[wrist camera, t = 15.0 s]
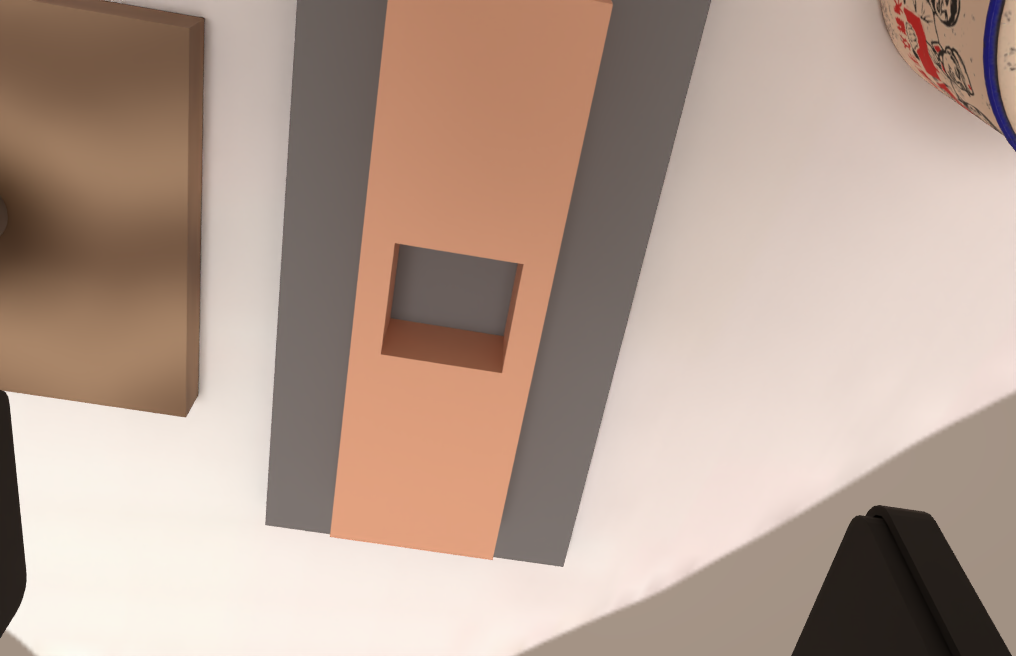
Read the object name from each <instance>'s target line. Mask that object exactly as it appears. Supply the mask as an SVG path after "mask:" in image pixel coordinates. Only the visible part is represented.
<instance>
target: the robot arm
mask: <svg viewBox="0 0 1016 656" xmlns="http://www.w3.org/2000/svg"><path fill="white" fill-rule="evenodd" d="M25 588H26V564H25V554H24V544H23V534H22V524H21V514H20V504H19V494H18V484H17V474H16V464H15V454H14V444H13V434H12V424H11V414H10V404H9V399H8V396H7V394H6V392H4V391H2V390H0V638H1V636H2V634H3V633H4V631H5V630H6V628H7V626H8V625H9V623H10V622H11V620H12V618H13V617H14V615H15V614H16V612H17V610H18V608H19V606H20V604H21V601H22V599H23V596H24V592H25ZM791 656H1012V655H1011V654H1010V652H1009V650H1008V648H1007V646H1006V645H1005V643H1004V641H1003V639H1002V638H1001V636H1000V634H999V632H998V631H997V629H996V627H995V625H994V623H993V622H992V620H991V618H990V616H989V615H988V613H987V611H986V609H985V608H984V606H983V604H982V602H981V601H980V599H979V597H978V595H977V593H976V592H975V590H974V588H973V586H972V585H971V583H970V581H969V579H968V578H967V576H966V574H965V572H964V571H963V569H962V567H961V565H960V564H959V562H958V560H957V558H956V556H955V555H954V553H953V551H952V550H951V548H950V546H949V544H948V542H947V541H946V539H945V537H944V535H943V533H942V532H941V530H940V528H939V527H938V525H937V523H936V521H935V520H934V519H933V517H932V516H931V515H930V514H928V513H926V512H922V511H916V510H908V509H902V508H895V507H888V506H881V505H878V506H874V507H872V508H871V509H870V510H869V511H868V512H867V514H866V516H861V515H859V516H856V517H855V518H853V519H852V521H851V523H850V524H849V526H848V528H847V531H846V533H845V535H844V538H843V540H842V542H841V544H840V547H839V549H838V551H837V554H836V556H835V558H834V560H833V562H832V565H831V567H830V570H829V572H828V574H827V576H826V578H825V581H824V583H823V585H822V587H821V590H820V592H819V594H818V596H817V599H816V601H815V603H814V606H813V608H812V610H811V612H810V615H809V617H808V619H807V622H806V624H805V626H804V629H803V631H802V633H801V635H800V637H799V640H798V642H797V644H796V647H795V649H794V651H793V653H792V655H791Z"/></svg>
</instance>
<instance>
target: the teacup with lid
mask: <svg viewBox="0 0 1016 656" xmlns="http://www.w3.org/2000/svg"><path fill="white" fill-rule="evenodd" d="M881 6H882V11H883V16H884V20H885V23H886V26H887V29H888V32H889V34H890V36H891V38H892V41H893V43H894V45H895V46H896V48H897V50H898V51H899V53H900V54H901V56H902V57H903V59H904V60H905V61H906V62H907V64H908V65H909V66H910V67H911V68H912V69H913V70H914V71H915V72H916V73H917V74H918V75H919V76H920V77H922V78H923V79H924V80H926V81H927V82H928V83H929V84H931V85H932V86H934V87H935V88H937V89H938V90H939V91H941V92H942V93H944V94H945V95H947V96H948V97H949V98H951V99H952V100H954V101H955V102H957V103H958V104H959V105H961V106H962V107H964V108H965V109H967V110H968V111H969V112H971V113H972V114H974V115H975V116H977V117H978V118H979V119H981V120H982V121H984V122H985V123H987V124H988V125H989V126H991V127H992V128H994V129H995V130H997V131H998V132H999V133H1001V134H1002V135H1004V136H1005V138H1006V139H1007V141H1008V142H1009V144H1010V145H1011V146H1012V147H1013V149H1014V150H1015V151H1016V0H881Z"/></svg>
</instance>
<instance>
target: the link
mask: <svg viewBox="0 0 1016 656" xmlns="http://www.w3.org/2000/svg"><path fill="white" fill-rule="evenodd" d="M612 7H613V3H612V1H611V0H388V2H387V12H386V21H385V30H384V39H383V49H382V58H381V67H380V77H379V86H378V95H377V105H376V114H375V123H374V132H373V142H372V151H371V160H370V170H369V179H368V188H367V197H366V207H365V216H364V225H363V235H362V244H361V253H360V263H359V272H358V281H357V290H356V300H355V309H354V318H353V328H352V337H351V346H350V355H349V365H348V374H347V383H346V393H345V402H344V411H343V421H342V430H341V439H340V448H339V458H338V467H337V476H336V486H335V495H334V504H333V513H332V523H331V532H330V537H335V538H342V539H349V540H356V541H363V542H370V543H377V544H384V545H391V546H398V547H405V548H412V549H419V550H426V551H433V552H440V553H447V554H454V555H461V556H468V557H475V558H482V559H489V560H493V555H494V551H495V546H496V542H497V537H498V532H499V528H500V523H501V519H502V514H503V509H504V505H505V500H506V495H507V491H508V486H509V482H510V477H511V472H512V468H513V463H514V459H515V454H516V449H517V445H518V440H519V436H520V431H521V426H522V422H523V417H524V413H525V408H526V403H527V399H528V394H529V389H530V385H531V380H532V376H533V371H534V366H535V362H536V357H537V353H538V348H539V343H540V339H541V334H542V330H543V325H544V320H545V316H546V311H547V307H548V302H549V297H550V293H551V288H552V284H553V279H554V274H555V270H556V265H557V260H558V256H559V251H560V247H561V242H562V237H563V233H564V228H565V224H566V219H567V214H568V210H569V205H570V201H571V196H572V191H573V187H574V182H575V178H576V173H577V168H578V164H579V159H580V154H581V150H582V145H583V141H584V136H585V131H586V127H587V122H588V118H589V113H590V108H591V104H592V99H593V95H594V90H595V85H596V81H597V76H598V72H599V67H600V62H601V58H602V53H603V49H604V44H605V39H606V35H607V30H608V25H609V21H610V16H611V12H612ZM400 244H403V245H409V246H415V247H421V248H428V249H434V250H440V251H446V252H452V253H458V254H464V255H470V256H476V257H482V258H489V259H495V260H501V261H507V262H513V263H518V265H517V270H516V275H515V280H514V285H513V290H512V296H511V301H510V306H509V311H508V316H507V321H506V326H505V331H504V336H499V335H493V334H487V333H481V332H474V331H468V330H462V329H455V328H449V327H443V326H436V325H430V324H424V323H417V322H411V321H405V320H399V319H392V318H390V317H391V309H392V301H393V293H394V286H395V278H396V270H397V262H398V254H399V247H400Z"/></svg>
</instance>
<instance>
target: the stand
mask: <svg viewBox="0 0 1016 656" xmlns="http://www.w3.org/2000/svg"><path fill="white" fill-rule="evenodd" d="M203 64H204V18H200V17H195V16H189V15H183V14H177V13H172V12H166V11H160V10H154V9H149V8H143V7H137V6H131V5H126V4H120V3H114V2H109V1H103V0H0V390H3V391H10V392H17V393H24V394H30V395H37V396H44V397H51V398H58V399H64V400H71V401H78V402H85V403H92V404H98V405H105V406H112V407H119V408H126V409H133V410H139V411H146V412H153V413H160V414H167V415H173V416H180V417H186V416H187V414H188V413H189V411H190V409H191V407H192V405H193V404H194V402H195V400H196V398H197V396H198V377H199V314H200V252H201V189H202V126H203Z"/></svg>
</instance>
